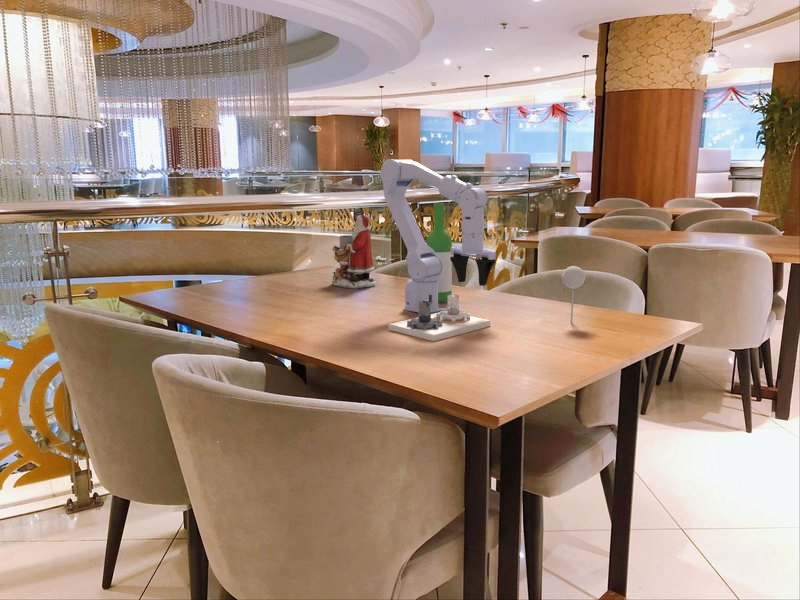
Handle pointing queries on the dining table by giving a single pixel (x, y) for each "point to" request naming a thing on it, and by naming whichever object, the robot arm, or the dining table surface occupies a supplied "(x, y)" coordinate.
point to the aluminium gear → (453, 311)
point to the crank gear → (425, 317)
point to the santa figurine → (354, 257)
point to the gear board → (441, 328)
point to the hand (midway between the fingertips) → (472, 283)
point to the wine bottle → (442, 252)
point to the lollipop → (573, 280)
